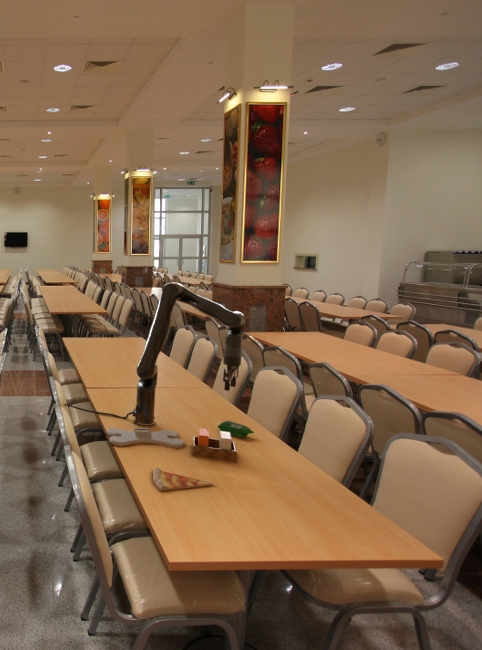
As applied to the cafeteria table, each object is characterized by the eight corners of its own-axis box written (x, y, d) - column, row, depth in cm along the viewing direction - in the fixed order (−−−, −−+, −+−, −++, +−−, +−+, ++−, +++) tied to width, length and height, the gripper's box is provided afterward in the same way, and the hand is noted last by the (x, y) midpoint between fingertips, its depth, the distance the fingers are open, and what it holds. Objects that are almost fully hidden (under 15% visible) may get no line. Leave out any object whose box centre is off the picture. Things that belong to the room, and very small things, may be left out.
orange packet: (197, 454, 223) (199, 435, 221) (197, 447, 231) (198, 428, 230) (207, 456, 221) (208, 436, 220) (206, 448, 230) (208, 429, 228)
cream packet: (219, 457, 219) (221, 438, 218) (218, 450, 228) (220, 430, 227) (230, 459, 218) (231, 439, 217) (228, 451, 226) (229, 432, 225)
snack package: (246, 441, 240) (247, 430, 240) (215, 430, 253) (216, 420, 252) (254, 438, 244) (255, 427, 244) (223, 428, 257) (224, 418, 256)
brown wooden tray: (192, 456, 222) (193, 445, 221) (192, 446, 233) (193, 435, 232) (235, 462, 216) (236, 451, 215) (233, 451, 227) (233, 441, 227)
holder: (105, 431, 251) (106, 421, 250) (175, 433, 248) (176, 423, 248) (111, 446, 232) (111, 435, 231) (186, 449, 230) (187, 438, 229)
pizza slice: (204, 502, 182) (205, 497, 181) (143, 486, 193) (143, 481, 193) (212, 485, 195) (212, 480, 195) (154, 471, 206) (154, 466, 206)
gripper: (229, 351, 243) (226, 384, 245) (219, 355, 232) (216, 390, 234) (245, 353, 238) (243, 387, 240) (236, 358, 227) (233, 393, 229)
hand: (229, 388), depth 237 cm, fingers open, 8 cm apart
